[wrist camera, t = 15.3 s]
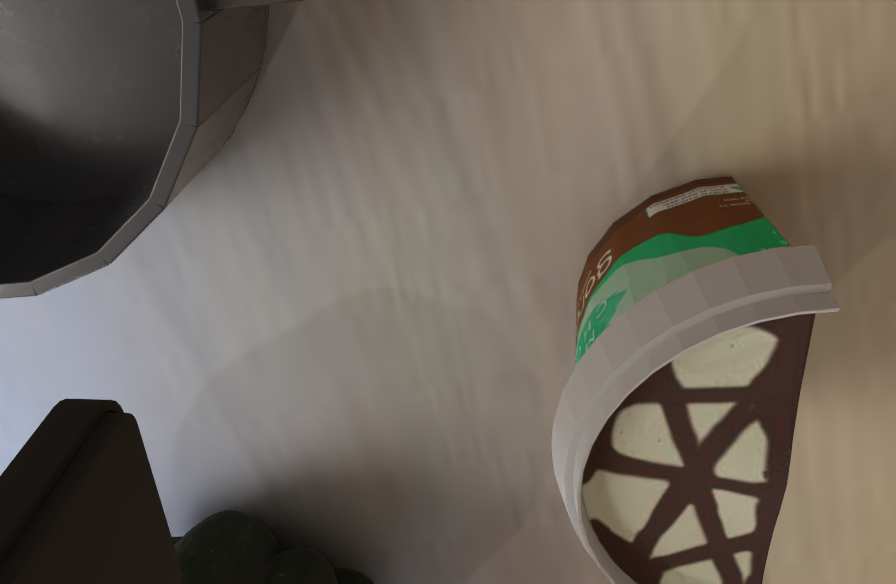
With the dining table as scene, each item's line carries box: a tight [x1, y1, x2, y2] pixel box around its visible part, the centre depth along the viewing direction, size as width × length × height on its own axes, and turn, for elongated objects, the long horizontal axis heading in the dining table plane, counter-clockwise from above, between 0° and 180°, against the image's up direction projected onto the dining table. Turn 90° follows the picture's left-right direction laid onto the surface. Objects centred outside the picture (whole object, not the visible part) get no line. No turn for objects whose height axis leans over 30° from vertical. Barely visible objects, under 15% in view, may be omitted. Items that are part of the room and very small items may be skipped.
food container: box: [551, 177, 840, 584], centre depth 25 cm, size 12×6×10 cm, turn 3°
